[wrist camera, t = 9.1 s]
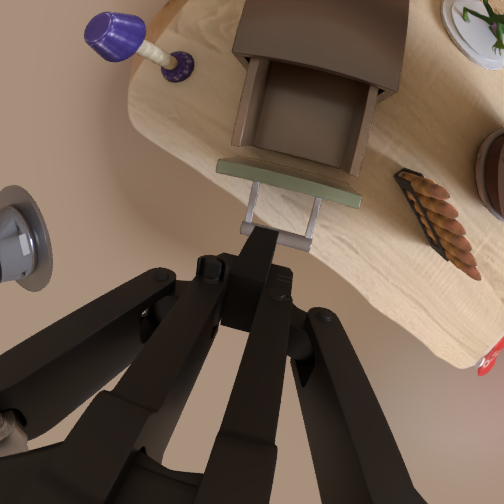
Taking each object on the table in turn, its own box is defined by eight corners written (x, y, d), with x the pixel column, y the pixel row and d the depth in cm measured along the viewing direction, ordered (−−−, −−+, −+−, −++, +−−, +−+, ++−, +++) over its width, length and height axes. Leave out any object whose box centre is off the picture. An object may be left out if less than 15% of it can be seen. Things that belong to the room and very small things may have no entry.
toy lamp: (193, 45, 27) (116, -8, 12) (203, 75, 29) (124, 32, 14) (159, 60, 29) (70, 25, 13) (168, 90, 30) (75, 66, 15)
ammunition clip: (442, 240, 30) (489, 281, 19) (431, 248, 31) (475, 292, 20) (404, 167, 29) (452, 180, 18) (392, 175, 29) (435, 192, 18)
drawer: (331, 242, 32) (338, 271, 25) (226, 215, 34) (204, 235, 26) (376, 65, 24) (396, 44, 17) (265, 38, 25) (252, 10, 18)
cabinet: (371, 107, 27) (397, 92, 18) (252, 77, 28) (231, 52, 19) (389, -4, 20) (410, -42, 11) (280, -30, 22) (270, -73, 13)
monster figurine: (487, 85, 22) (533, 75, 12) (425, 13, 20) (457, -19, 11) (517, 49, 17) (558, 37, 8) (463, -15, 16) (493, -42, 6)
